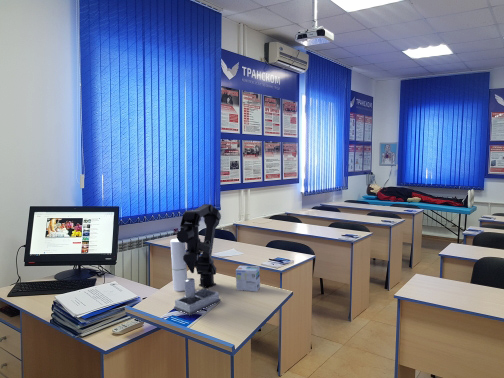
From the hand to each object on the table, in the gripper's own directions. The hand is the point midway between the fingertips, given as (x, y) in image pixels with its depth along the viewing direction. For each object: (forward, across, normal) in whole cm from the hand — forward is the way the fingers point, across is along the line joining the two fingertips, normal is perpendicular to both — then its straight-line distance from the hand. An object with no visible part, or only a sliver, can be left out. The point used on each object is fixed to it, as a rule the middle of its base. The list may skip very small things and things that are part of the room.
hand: (194, 269), depth 176 cm
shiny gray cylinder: (+12, -13, 0) cm, 18 cm away
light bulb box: (+13, +8, -25) cm, 29 cm away
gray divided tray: (+13, -10, -2) cm, 16 cm away
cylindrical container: (+13, +10, +10) cm, 19 cm away
